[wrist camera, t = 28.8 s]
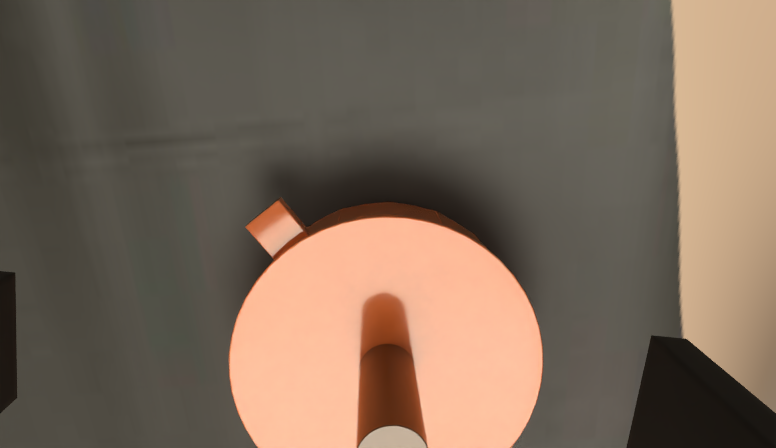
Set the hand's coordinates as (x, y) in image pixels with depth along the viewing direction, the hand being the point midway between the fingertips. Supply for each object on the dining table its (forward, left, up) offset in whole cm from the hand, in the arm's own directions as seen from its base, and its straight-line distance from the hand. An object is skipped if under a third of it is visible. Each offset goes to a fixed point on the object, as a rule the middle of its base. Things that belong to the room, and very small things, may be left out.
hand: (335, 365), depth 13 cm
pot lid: (+5, +9, -21) cm, 24 cm away
